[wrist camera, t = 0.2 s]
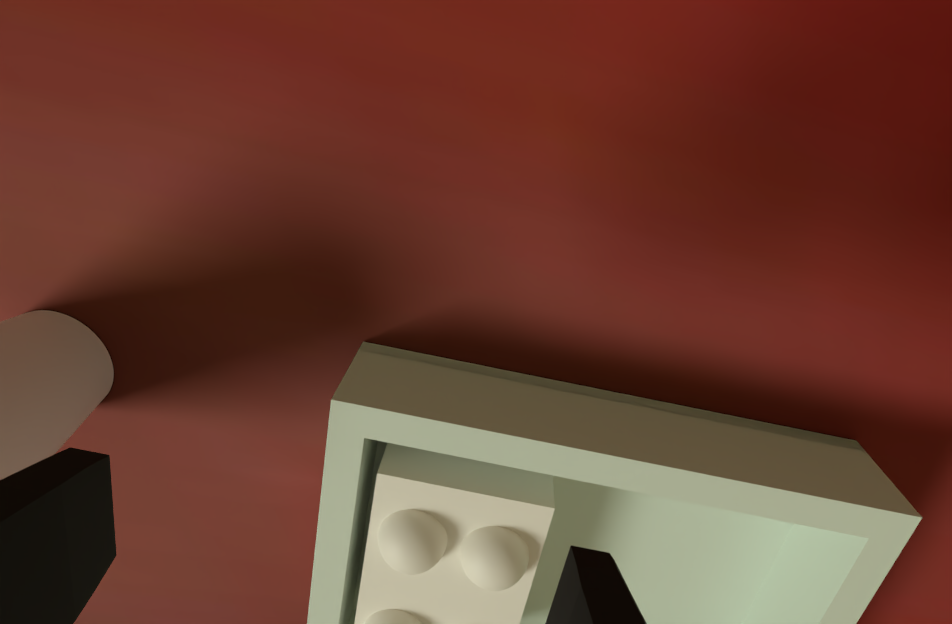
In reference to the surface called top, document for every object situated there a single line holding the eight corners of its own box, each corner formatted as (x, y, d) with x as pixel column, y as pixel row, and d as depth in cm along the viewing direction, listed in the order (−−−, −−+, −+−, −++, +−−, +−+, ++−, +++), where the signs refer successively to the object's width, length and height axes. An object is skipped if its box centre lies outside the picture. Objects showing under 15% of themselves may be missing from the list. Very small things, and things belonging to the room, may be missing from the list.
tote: (725, 686, 24) (756, 784, 21) (329, 608, 24) (299, 695, 21) (856, 440, 19) (922, 517, 16) (363, 341, 19) (330, 399, 16)
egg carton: (500, 618, 23) (496, 727, 19) (368, 592, 23) (338, 696, 19) (550, 444, 20) (556, 534, 16) (397, 413, 20) (368, 497, 16)
